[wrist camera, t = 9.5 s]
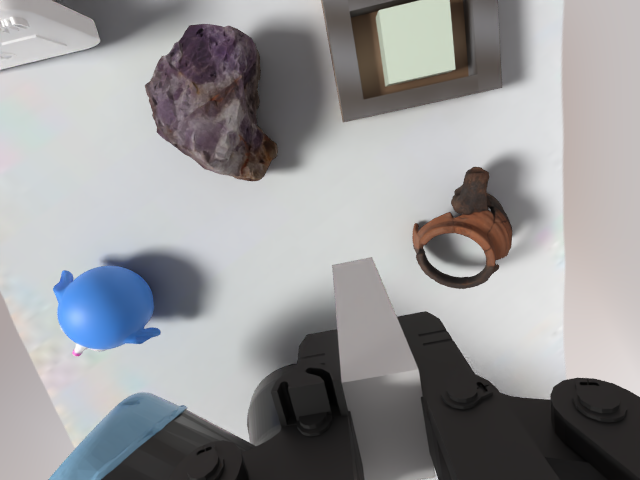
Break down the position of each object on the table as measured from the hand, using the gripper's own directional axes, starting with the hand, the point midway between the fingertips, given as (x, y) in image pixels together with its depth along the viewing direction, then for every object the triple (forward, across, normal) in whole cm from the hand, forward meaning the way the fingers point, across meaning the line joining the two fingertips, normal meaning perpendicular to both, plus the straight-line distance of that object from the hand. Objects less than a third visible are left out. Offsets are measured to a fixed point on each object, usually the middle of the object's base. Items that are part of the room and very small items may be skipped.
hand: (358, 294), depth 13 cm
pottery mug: (+26, -12, +6) cm, 29 cm away
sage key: (+22, -9, -12) cm, 27 cm away
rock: (+26, +9, -10) cm, 29 cm away
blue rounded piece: (+26, +27, +7) cm, 38 cm away
